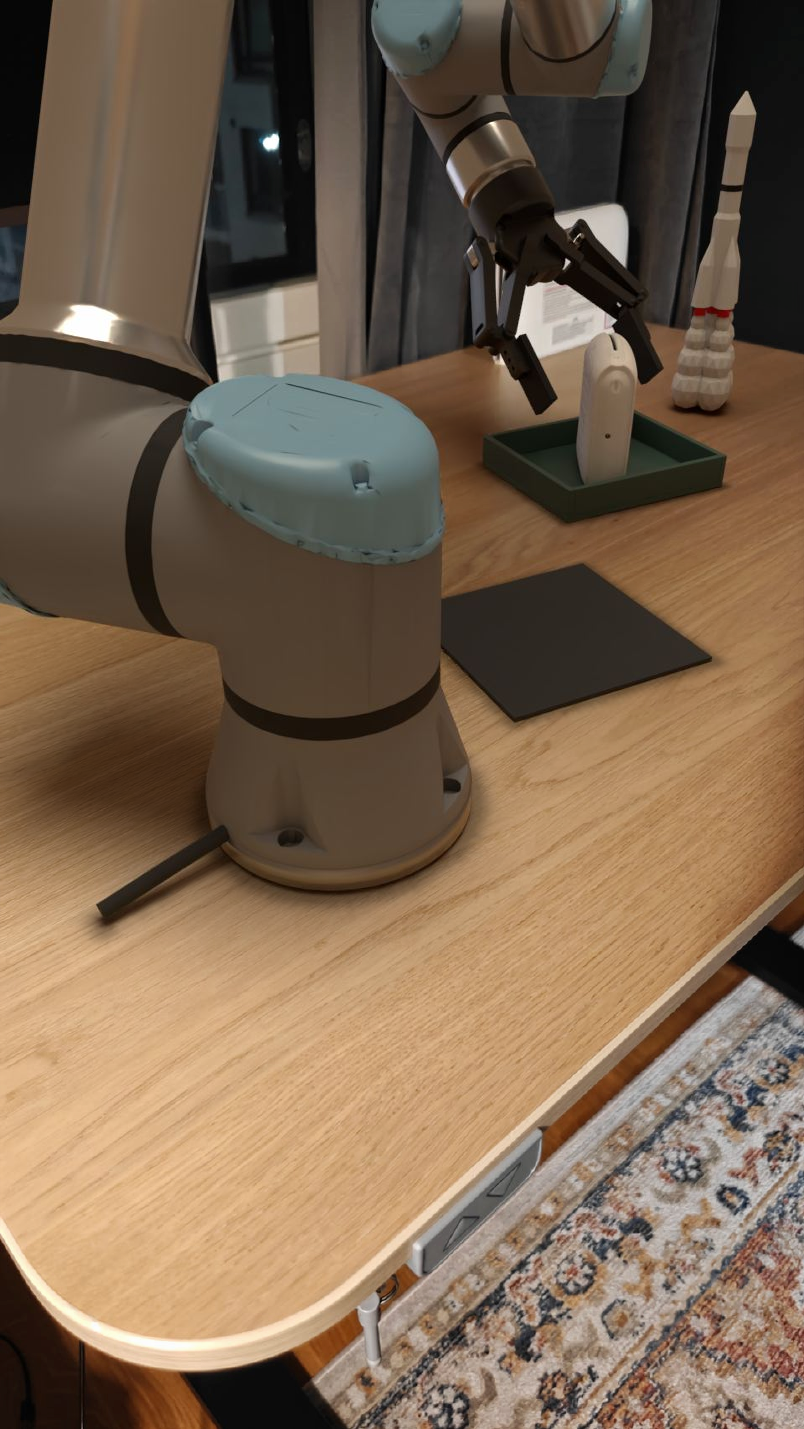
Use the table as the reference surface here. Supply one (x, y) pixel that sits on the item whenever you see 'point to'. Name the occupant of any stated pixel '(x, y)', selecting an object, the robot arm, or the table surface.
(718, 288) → the rocket model
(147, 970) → the table surface
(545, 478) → the tray
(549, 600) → the mat
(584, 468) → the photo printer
